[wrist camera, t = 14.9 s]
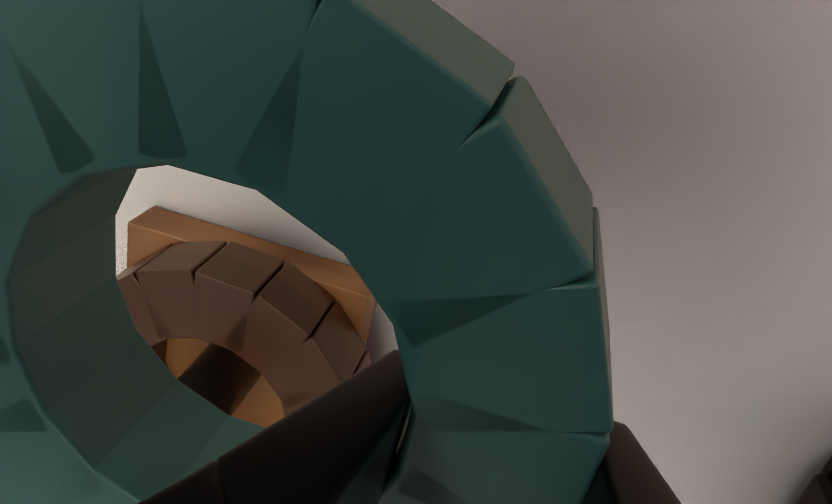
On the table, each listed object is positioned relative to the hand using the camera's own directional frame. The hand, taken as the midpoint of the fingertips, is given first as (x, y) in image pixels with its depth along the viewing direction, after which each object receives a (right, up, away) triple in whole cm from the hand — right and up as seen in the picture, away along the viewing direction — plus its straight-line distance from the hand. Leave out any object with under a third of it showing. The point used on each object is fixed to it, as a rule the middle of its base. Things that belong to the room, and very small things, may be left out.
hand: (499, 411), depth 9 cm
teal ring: (-3, +1, +1) cm, 4 cm away
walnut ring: (-7, -2, +14) cm, 16 cm away
